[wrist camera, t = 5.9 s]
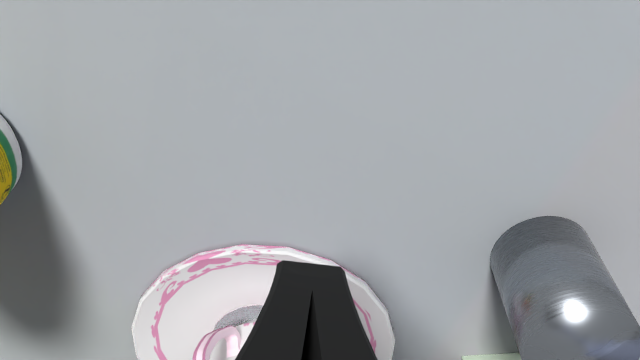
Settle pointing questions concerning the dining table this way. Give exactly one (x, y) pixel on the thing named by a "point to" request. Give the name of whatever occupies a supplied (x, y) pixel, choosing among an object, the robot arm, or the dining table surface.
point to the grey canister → (561, 294)
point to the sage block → (494, 357)
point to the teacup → (231, 304)
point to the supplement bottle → (8, 160)
